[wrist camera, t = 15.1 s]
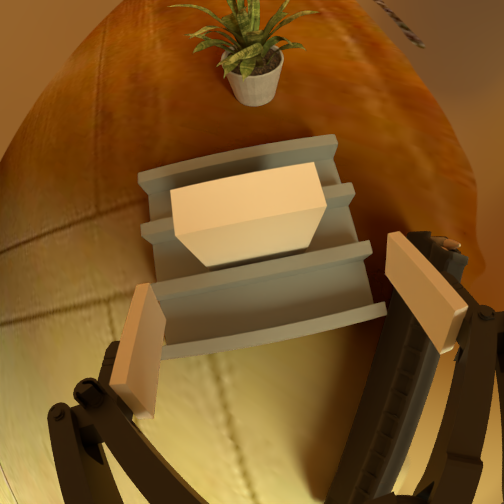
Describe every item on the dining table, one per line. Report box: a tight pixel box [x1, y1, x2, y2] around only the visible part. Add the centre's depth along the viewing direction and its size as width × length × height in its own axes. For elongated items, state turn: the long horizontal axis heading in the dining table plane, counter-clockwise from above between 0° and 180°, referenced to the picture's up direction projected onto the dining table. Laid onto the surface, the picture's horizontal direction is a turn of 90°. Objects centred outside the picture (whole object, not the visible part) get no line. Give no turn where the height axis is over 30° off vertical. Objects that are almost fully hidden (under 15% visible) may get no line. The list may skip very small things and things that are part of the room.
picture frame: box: [170, 162, 327, 272], centre depth 24 cm, size 3×9×12 cm, turn 101°
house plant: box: [169, 0, 320, 106], centre depth 29 cm, size 14×14×16 cm
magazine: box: [324, 231, 468, 504], centre depth 22 cm, size 17×3×30 cm
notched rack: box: [138, 134, 387, 360], centre depth 29 cm, size 18×20×4 cm
